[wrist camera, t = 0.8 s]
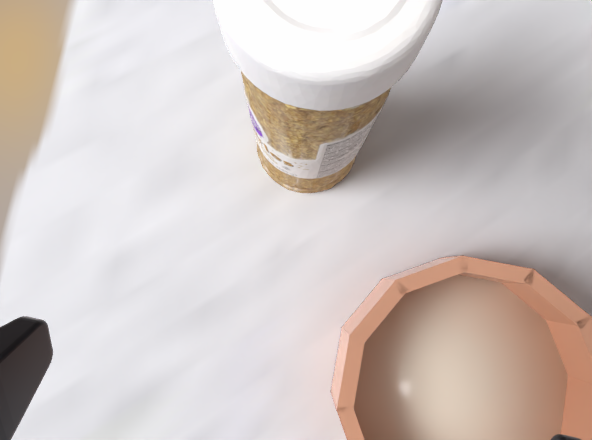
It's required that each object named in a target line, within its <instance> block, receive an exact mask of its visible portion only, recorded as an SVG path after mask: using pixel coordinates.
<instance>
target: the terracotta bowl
mask: <svg viewBox="0 0 592 440" xmlns="http://www.w3.org/2000/svg"><path fill="white" fill-rule="evenodd" d="M341 328H342V329H341V335H340V341H339V346H338V352H337V358H336V364H335V369H334V375H333V381H332V386H331V394H332V398H333V401H334V404H335V407H336V411H337V412H338V415H339V418H340V421H341V424H342V426H343V429H344V432H345V435H346V438H347V440H551V438H552V437H553V436H554V435H557V434H563V435H567V436H572V437H576V438H579V439H582V440H592V317H591V316H590V315H589V314H588V313H586V312H585V311H584V310H583V309H581V308H580V307H579V306H578V305H577V304H575V303H574V302H573V301H572V300H571V299H569V298H568V297H567V296H566V295H564V294H563V293H562V292H561V291H560V290H558V289H557V288H556V287H555V286H554V285H552V284H551V283H550V282H549V281H548V280H546V279H545V278H544V277H543V276H541V275H540V274H539V273H538V272H537V271H535V269H531V268H525V267H520V266H515V265H509V264H504V263H499V262H493V261H488V260H482V259H477V258H472V257H466V256H454V257H445V258H439V259H437V260H434V261H431V262H428V263H425V264H423V265H420V266H417V267H414V268H411V269H409V270H406V271H403V272H400V273H397V274H395V275H392V276H389V277H386V278H382V279H381V281H380V282H379V283H378V284H377V285H376V287H375V288H374V289H373V290H372V291H371V293H370V294H369V295H368V296H367V297H366V299H365V300H364V301H363V302H362V303H361V305H360V306H359V307H358V308H357V309H356V311H355V312H354V313H353V314H352V315H351V317H350V318H349V319H348V320H347V321H346V323H345V324H344V325H343V326H342V327H341Z"/></svg>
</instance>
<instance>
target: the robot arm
mask: <svg viewBox="0 0 592 440" xmlns="http://www.w3.org/2000/svg"><path fill="white" fill-rule="evenodd" d="M52 356H53V349H52V344H51V339H50V334H49V329H48V325H47V323H46V322H45V321H44V320H41V319H36V318H32V317H27V316H23V317H19V318H17V319H15V320H13V321H11V322H9V323H7V324H6V325H4V326H2V327H0V440H11V438H12V436H13V435H14V433H15V431H16V429H17V427H18V425H19V423H20V421H21V419H22V418H23V416H24V414H25V412H26V410H27V408H28V406H29V404H30V402H31V400H32V398H33V396H34V394H35V392H36V390H37V388H38V387H39V385H40V383H41V381H42V379H43V377H44V375H45V373H46V371H47V369H48V367H49V365H50V363H51V360H52ZM551 440H582V439H579V438H576V437H572V436H567V435H563V434H557V435H554V436H553V437H552V438H551Z"/></svg>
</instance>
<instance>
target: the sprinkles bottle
mask: <svg viewBox="0 0 592 440" xmlns="http://www.w3.org/2000/svg"><path fill="white" fill-rule="evenodd" d="M441 3H442V0H213V4H214V8H215V12H216V16H217V19H218V23H219V27H220V30H221V33H222V36H223V39H224V42H225V45H226V47H227V49H228V51H229V53H230V56H231V57H232V59H233V61H234V62H235V64H236V65H237V66H238V68H239V69H240V70H241V74H242V78H243V83H244V92H245V96H246V101H247V104H248V108H249V112H250V116H251V120H252V125H253V130H254V134H255V137H256V141H257V152H258V156H259V158H260V161H261V164H262V166H263V168H264V169H265V171H266V172H267V174H268V175H269V176H270V177H271V178H272V179H273V180H274V181H275V182H277V183H278V184H280V185H281V186H283V187H284V188H286V189H288V190H292V191H296V192H300V193H314V192H319V191H323V190H327V189H330V188H332V187H333V186H334V185H335V184H337V183H338V182H340V181H341V180H342V179H343V178H344V177H345V176H346V175H347V174H348V173H349V171H350V170H351V168H352V166H353V164H354V161H355V158H356V155H357V153H358V152H359V150H360V148H361V147H362V145H363V143H364V141H365V139H366V137H367V136H368V134H369V132H370V130H371V128H372V126H373V124H374V122H375V120H376V118H377V117H378V115H379V113H380V111H381V110H382V108H383V105H384V103H385V101H386V99H387V97H388V95H389V92H390V89H391V87H392V86H393V85H394V84H396V83H397V82H398V81H399V80H400V79H401V78H402V76H403V75H404V74H405V73H406V72H407V71H408V69H409V68H410V66H411V64H412V63H413V61H414V60H415V58H416V56H417V55H418V53H419V51H420V49H421V48H422V46H423V44H424V42H425V40H426V38H427V36H428V34H429V32H430V30H431V28H432V26H433V24H434V22H435V20H436V17H437V15H438V13H439V10H440V7H441Z"/></svg>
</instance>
